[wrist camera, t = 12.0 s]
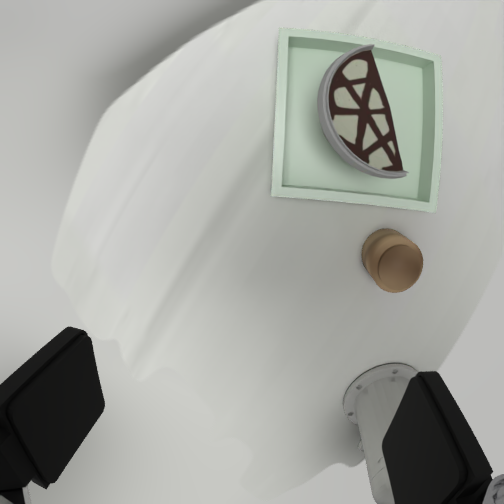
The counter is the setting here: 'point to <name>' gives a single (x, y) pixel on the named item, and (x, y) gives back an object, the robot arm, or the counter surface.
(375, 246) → the salt cellar
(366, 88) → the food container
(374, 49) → the bin
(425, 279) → the counter surface
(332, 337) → the counter surface
